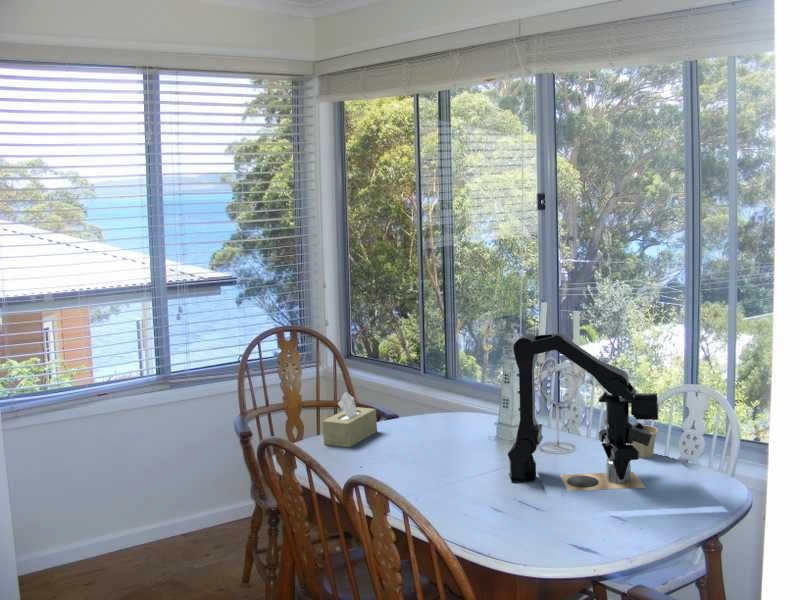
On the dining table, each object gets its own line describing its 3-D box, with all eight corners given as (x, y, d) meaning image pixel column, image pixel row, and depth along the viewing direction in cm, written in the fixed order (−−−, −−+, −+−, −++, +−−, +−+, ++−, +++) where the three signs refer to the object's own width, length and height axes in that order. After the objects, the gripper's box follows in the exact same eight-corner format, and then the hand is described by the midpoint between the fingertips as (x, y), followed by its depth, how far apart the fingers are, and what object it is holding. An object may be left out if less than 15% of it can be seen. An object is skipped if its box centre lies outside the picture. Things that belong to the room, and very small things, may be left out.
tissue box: (352, 429, 285) (350, 384, 283) (377, 431, 281) (375, 385, 279) (323, 445, 269) (320, 397, 267) (349, 448, 264) (346, 399, 262)
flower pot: (660, 464, 235) (659, 434, 234) (625, 463, 237) (625, 434, 236) (656, 453, 244) (656, 424, 243) (623, 453, 246) (623, 424, 245)
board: (568, 495, 215) (567, 476, 214) (559, 479, 227) (559, 460, 226) (645, 491, 215) (645, 472, 214) (633, 475, 227) (633, 457, 226)
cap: (609, 484, 218) (609, 462, 217) (604, 476, 224) (604, 454, 223) (633, 483, 218) (632, 461, 217) (627, 475, 223) (626, 453, 223)
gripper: (659, 427, 209) (659, 486, 211) (638, 407, 227) (639, 462, 229) (614, 429, 209) (615, 488, 211) (597, 409, 228) (598, 464, 230)
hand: (618, 475), depth 220 cm, fingers closed on cap, 6 cm apart
